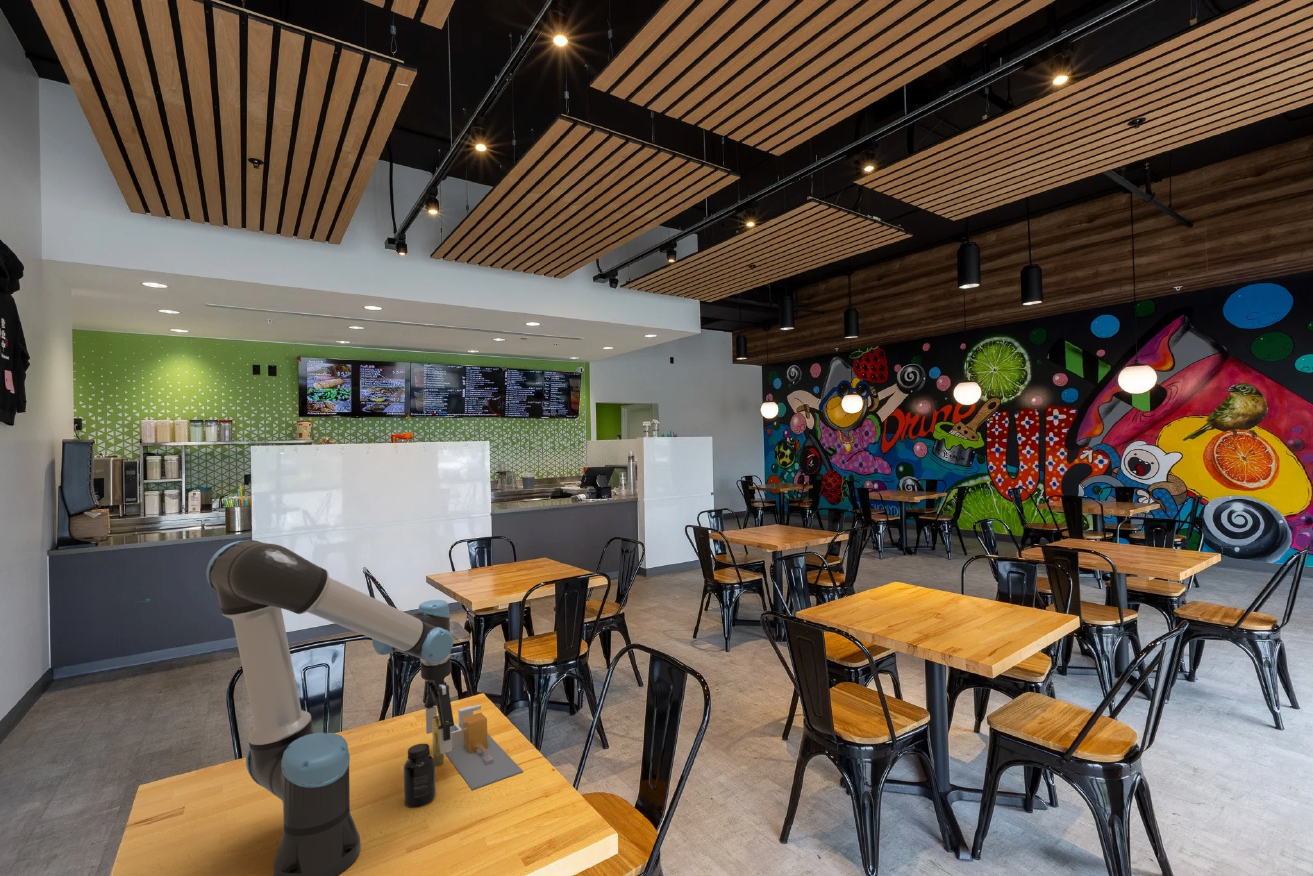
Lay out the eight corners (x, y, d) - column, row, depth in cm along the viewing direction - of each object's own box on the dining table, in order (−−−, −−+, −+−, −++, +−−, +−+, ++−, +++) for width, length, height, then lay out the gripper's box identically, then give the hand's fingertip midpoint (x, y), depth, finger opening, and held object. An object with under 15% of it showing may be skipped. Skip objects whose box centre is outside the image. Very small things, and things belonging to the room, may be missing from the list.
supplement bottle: (440, 791, 145) (439, 741, 145) (427, 808, 138) (425, 755, 138) (413, 790, 145) (412, 740, 145) (398, 807, 138) (397, 755, 139)
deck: (523, 772, 152) (522, 739, 152) (472, 790, 145) (471, 755, 145) (483, 729, 177) (482, 701, 177) (437, 743, 169) (436, 713, 169)
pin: (445, 764, 157) (443, 718, 157) (434, 767, 156) (433, 720, 156) (442, 760, 159) (441, 714, 160) (432, 763, 158) (430, 717, 158)
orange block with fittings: (499, 760, 157) (498, 729, 158) (480, 766, 155) (479, 735, 155) (481, 741, 169) (480, 712, 169) (463, 746, 166) (462, 717, 166)
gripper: (465, 670, 150) (468, 755, 150) (437, 645, 170) (440, 720, 170) (434, 678, 146) (437, 766, 145) (409, 651, 166) (412, 728, 166)
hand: (438, 741), depth 158 cm, fingers open, 13 cm apart
